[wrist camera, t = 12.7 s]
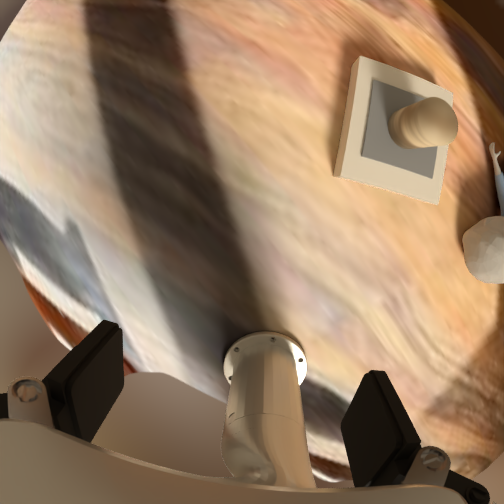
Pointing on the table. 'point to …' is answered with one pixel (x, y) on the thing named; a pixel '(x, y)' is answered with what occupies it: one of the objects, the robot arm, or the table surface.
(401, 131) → the cylinder
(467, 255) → the toy
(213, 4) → the table surface
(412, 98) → the plinth
